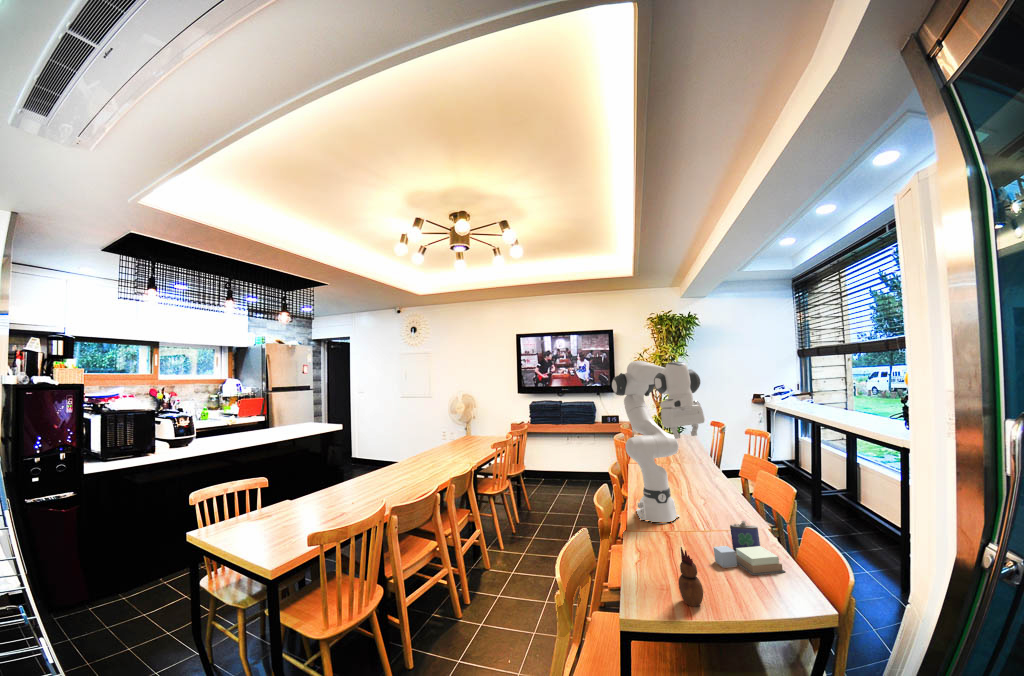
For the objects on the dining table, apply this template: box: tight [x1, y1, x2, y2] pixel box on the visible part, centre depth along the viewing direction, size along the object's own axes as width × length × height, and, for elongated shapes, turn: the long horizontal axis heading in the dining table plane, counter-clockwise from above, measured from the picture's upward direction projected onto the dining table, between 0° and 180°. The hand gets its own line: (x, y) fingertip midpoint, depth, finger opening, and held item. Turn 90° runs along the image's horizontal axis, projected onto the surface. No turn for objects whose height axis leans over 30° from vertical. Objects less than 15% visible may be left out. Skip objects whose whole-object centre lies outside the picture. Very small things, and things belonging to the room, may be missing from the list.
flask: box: [729, 520, 761, 552], centre depth 150 cm, size 9×3×11 cm, turn 68°
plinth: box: [735, 545, 784, 573], centre depth 137 cm, size 10×10×4 cm
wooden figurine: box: [678, 546, 704, 607], centre depth 118 cm, size 7×6×15 cm
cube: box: [713, 545, 738, 569], centre depth 141 cm, size 5×5×5 cm
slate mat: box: [737, 562, 786, 576], centre depth 137 cm, size 11×11×1 cm
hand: (686, 437), depth 159 cm, fingers open, 8 cm apart
